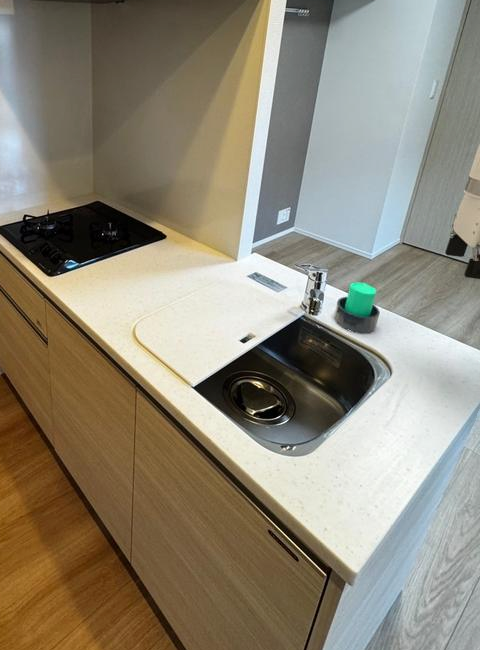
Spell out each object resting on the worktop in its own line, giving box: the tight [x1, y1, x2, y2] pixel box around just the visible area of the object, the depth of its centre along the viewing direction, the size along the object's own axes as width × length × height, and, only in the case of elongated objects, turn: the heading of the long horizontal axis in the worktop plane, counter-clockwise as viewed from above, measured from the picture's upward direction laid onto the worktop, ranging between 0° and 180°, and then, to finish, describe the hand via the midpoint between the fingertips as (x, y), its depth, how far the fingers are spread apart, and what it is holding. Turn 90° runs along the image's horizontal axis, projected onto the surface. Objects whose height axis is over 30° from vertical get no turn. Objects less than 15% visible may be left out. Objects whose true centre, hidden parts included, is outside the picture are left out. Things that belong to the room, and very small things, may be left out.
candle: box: [344, 281, 377, 317], centre depth 111 cm, size 6×6×12 cm
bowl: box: [333, 296, 380, 335], centre depth 113 cm, size 10×10×5 cm
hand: (463, 266), depth 86 cm, fingers open, 9 cm apart
